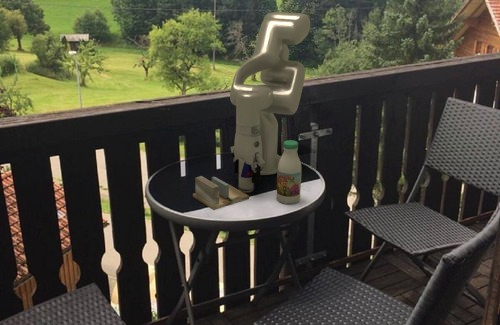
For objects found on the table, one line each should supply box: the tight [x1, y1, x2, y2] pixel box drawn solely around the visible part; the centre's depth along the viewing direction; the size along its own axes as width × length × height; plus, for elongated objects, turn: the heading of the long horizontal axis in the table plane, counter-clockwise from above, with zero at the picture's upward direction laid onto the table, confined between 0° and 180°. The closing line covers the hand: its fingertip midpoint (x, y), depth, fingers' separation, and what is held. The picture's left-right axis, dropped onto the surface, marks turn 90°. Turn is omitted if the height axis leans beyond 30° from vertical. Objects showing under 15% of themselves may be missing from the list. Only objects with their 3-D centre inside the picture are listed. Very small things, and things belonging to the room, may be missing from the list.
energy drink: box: [238, 158, 255, 194], centre depth 183 cm, size 5×5×12 cm
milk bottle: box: [275, 139, 302, 204], centre depth 175 cm, size 8×8×20 cm
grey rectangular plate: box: [211, 176, 232, 201], centre depth 177 cm, size 1×10×5 cm, turn 38°
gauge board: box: [192, 175, 250, 211], centre depth 178 cm, size 14×12×7 cm
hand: (246, 177), depth 184 cm, fingers open, 9 cm apart
